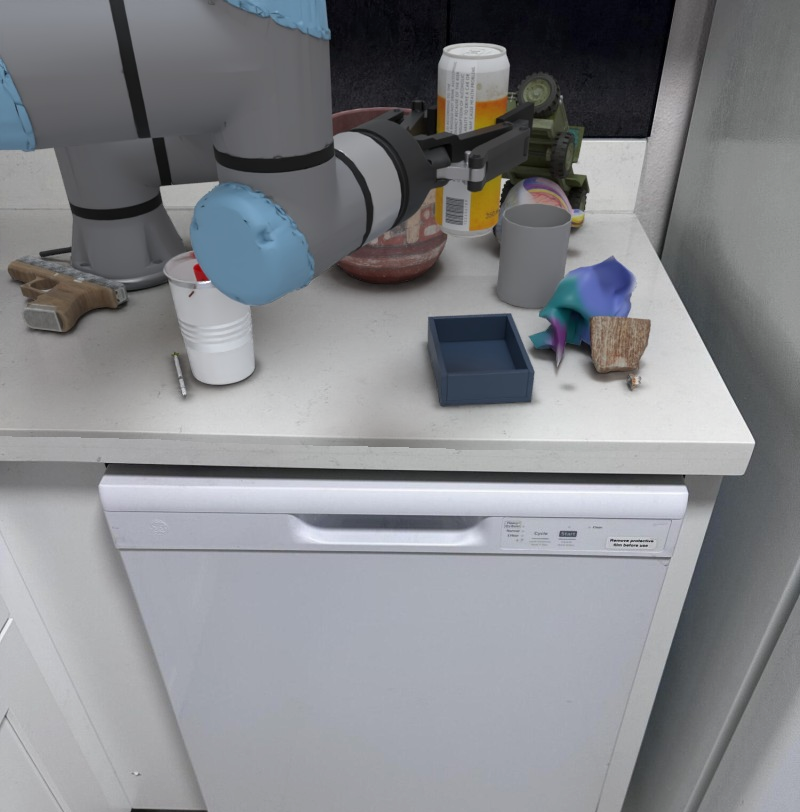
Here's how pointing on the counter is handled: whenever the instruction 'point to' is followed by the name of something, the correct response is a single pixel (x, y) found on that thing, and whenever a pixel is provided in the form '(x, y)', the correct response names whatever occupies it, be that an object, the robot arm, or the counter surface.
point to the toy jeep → (548, 141)
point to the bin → (479, 360)
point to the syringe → (179, 372)
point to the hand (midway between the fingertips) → (495, 113)
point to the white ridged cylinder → (210, 324)
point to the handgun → (62, 293)
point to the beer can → (466, 111)
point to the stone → (618, 342)
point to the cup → (532, 253)
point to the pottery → (401, 246)
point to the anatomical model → (537, 200)
